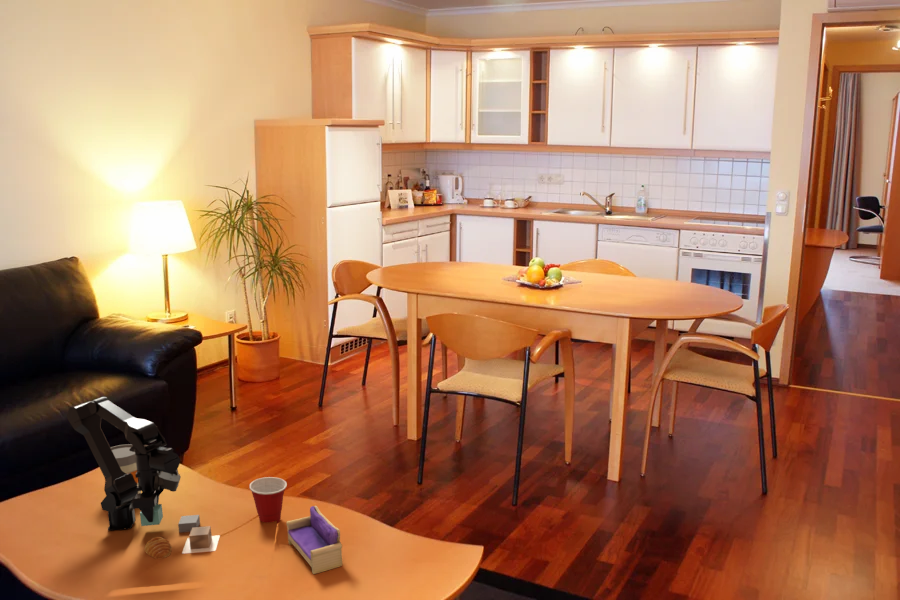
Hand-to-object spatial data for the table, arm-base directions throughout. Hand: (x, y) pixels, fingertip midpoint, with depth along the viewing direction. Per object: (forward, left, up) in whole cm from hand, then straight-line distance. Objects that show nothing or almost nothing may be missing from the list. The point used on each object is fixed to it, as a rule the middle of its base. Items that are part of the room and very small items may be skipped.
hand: (152, 517), depth 240 cm
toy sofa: (+46, -20, -6) cm, 51 cm away
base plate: (+15, -11, -5) cm, 19 cm away
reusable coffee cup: (-15, +30, -6) cm, 34 cm away
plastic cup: (+33, +2, -6) cm, 33 cm away
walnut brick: (+15, -11, -4) cm, 19 cm away
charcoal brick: (+10, 0, -5) cm, 11 cm away
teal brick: (0, 0, -1) cm, 1 cm away
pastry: (+4, -12, -6) cm, 14 cm away
